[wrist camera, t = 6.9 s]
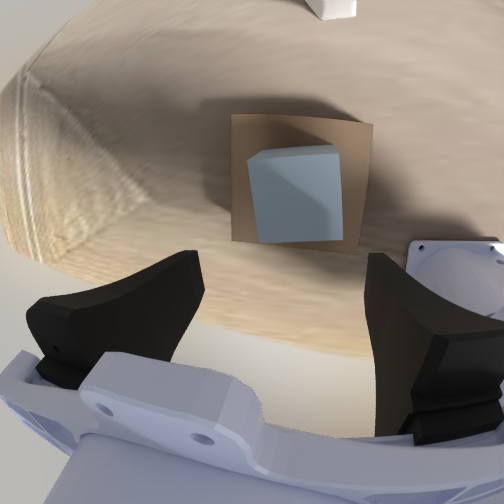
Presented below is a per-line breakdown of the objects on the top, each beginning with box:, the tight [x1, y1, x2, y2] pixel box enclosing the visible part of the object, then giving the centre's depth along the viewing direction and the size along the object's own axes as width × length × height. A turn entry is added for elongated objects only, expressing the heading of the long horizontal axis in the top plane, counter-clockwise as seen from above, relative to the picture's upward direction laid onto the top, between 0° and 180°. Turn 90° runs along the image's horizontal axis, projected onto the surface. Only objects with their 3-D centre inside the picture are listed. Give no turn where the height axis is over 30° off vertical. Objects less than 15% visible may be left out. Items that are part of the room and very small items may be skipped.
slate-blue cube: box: [247, 145, 343, 243], centre depth 15 cm, size 4×4×4 cm
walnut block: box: [231, 114, 373, 254], centre depth 18 cm, size 8×8×4 cm
